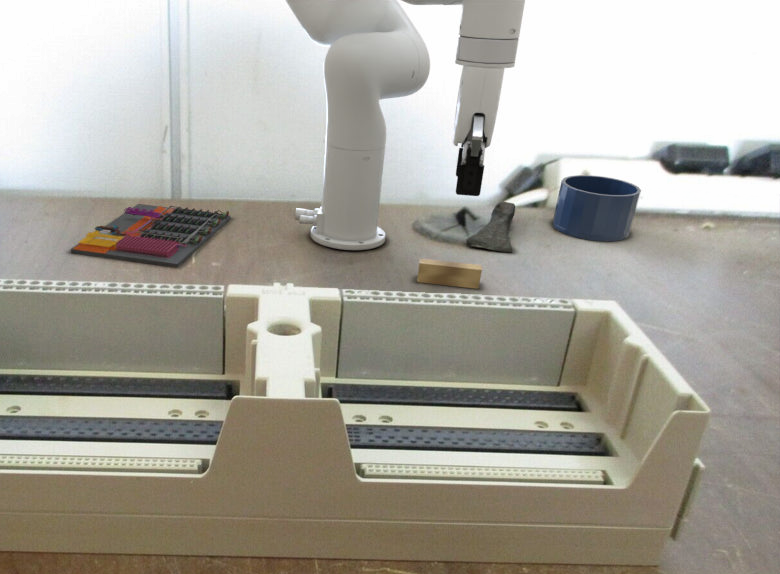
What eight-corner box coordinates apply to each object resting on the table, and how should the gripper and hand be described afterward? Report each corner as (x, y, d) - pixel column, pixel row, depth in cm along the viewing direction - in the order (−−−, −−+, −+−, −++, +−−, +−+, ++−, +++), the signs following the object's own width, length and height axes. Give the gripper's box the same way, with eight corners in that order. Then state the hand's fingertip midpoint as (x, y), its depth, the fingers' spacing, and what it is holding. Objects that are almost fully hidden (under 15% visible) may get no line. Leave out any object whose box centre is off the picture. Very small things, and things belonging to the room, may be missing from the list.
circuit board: (177, 267, 115) (177, 250, 113) (71, 252, 118) (69, 235, 117) (230, 218, 136) (230, 203, 134) (138, 206, 139) (137, 191, 138)
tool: (509, 261, 126) (514, 244, 125) (463, 250, 128) (467, 234, 126) (522, 214, 142) (527, 198, 140) (481, 205, 144) (485, 189, 142)
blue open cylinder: (556, 236, 134) (566, 191, 130) (549, 214, 146) (558, 172, 142) (635, 244, 132) (647, 199, 128) (621, 221, 144) (633, 179, 140)
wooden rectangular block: (416, 282, 114) (419, 263, 112) (417, 277, 115) (420, 258, 114) (478, 289, 112) (481, 269, 111) (478, 284, 114) (481, 265, 112)
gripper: (456, 44, 106) (440, 169, 114) (456, 58, 91) (438, 200, 100) (512, 47, 105) (492, 172, 113) (521, 61, 90) (497, 205, 98)
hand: (467, 185), depth 106 cm, fingers open, 9 cm apart
